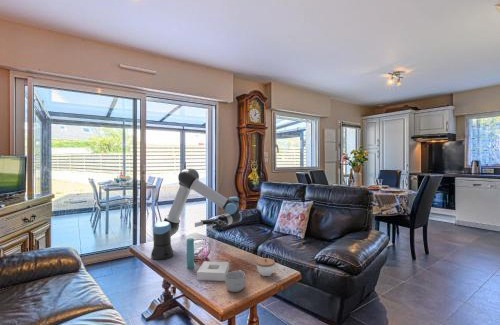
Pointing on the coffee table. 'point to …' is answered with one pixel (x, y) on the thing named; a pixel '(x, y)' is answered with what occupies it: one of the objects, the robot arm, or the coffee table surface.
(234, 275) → the teacup
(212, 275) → the socket block
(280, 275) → the coffee table surface
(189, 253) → the peg
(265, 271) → the lidded jar
